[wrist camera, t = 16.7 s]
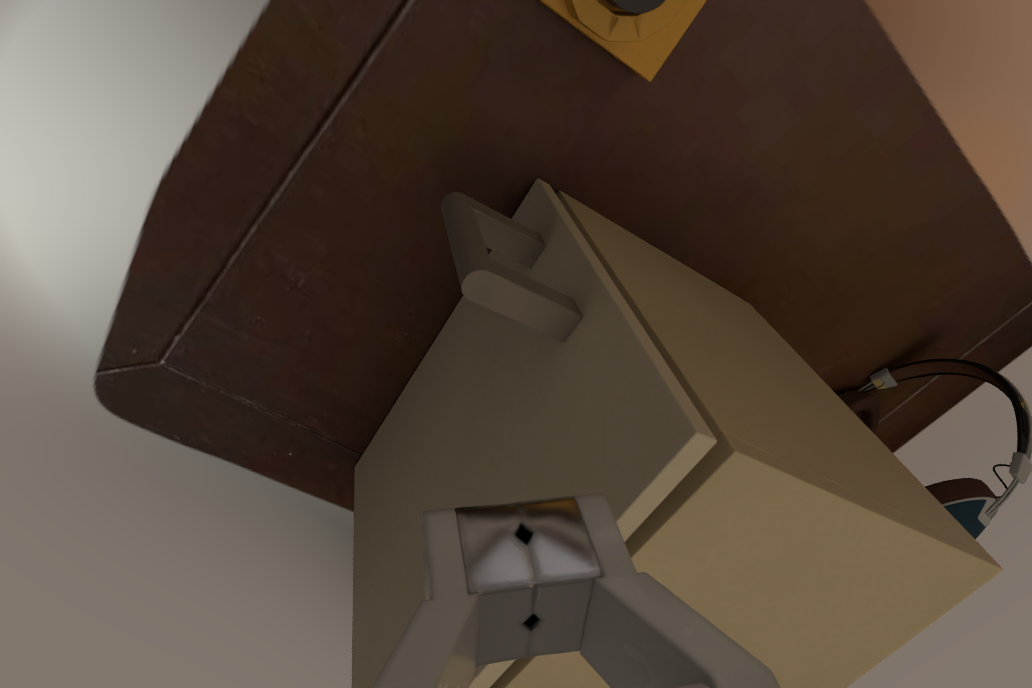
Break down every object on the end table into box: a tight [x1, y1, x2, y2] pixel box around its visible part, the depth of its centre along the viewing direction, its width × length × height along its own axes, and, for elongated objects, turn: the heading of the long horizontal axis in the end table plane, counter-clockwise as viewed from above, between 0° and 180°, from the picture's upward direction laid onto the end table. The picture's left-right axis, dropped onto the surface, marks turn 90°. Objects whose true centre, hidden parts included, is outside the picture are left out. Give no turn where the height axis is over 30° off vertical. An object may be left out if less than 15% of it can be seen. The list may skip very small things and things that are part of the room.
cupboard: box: [490, 190, 1003, 688], centre depth 40 cm, size 18×26×24 cm
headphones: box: [838, 359, 1032, 539], centre depth 51 cm, size 6×15×22 cm
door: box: [352, 178, 717, 688], centre depth 35 cm, size 7×26×24 cm, turn 148°
